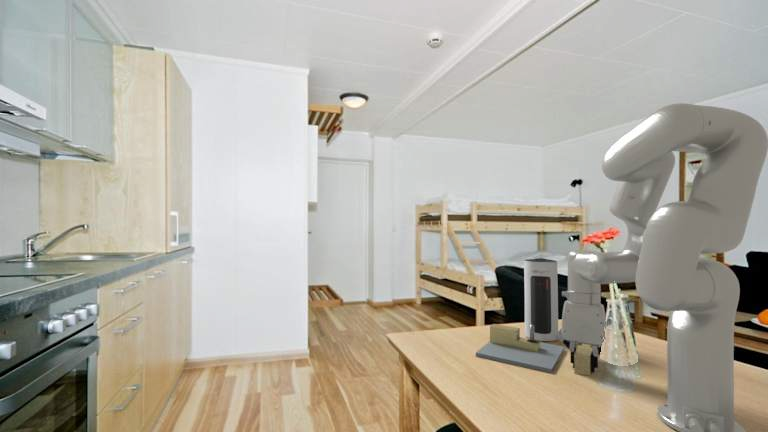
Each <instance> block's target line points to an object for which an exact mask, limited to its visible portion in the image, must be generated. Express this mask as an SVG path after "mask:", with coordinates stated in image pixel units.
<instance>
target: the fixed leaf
mask: <svg viewBox="0 0 768 432" xmlns="http://www.w3.org/2000/svg"><path fill="white" fill-rule="evenodd" d="M520 329H521V328H520V327H516V326H515V327H514V326H507V325H504V324H497V323H492V325H490V326H489V341H490V343H494V344H499V345H504V346H509V347H514V348H519V349H523V350H528V351H533V352H539V350H540V349H541V343H542V341H540V340H535V339H534V325H530V338H528V337H520V336H521V333H520Z"/></svg>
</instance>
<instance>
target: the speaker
mask: <svg viewBox="0 0 768 432" xmlns="http://www.w3.org/2000/svg"><path fill="white" fill-rule="evenodd" d="M523 265H524V266H523V273H524V274H523V275H524V277H523V279H524V280H523V282H524V286H523V287H524V335H525V338H529V339H530V325H534V339H535V340H540V341H541V342H543V343H545V342H546V343H547V342H556V341H559V340H558V339H557V338H556V335H557V334H558V332H559V291H558V290H559V289H558V288H559V287H558V285H559V283H558V282H559V281H558V280H559V279H558V261H557V259H556V260H553V259H547V258H543V257H542V258H541V257H538V258H537V257H536V258H532V259H531V258H529V259H524V260H523Z"/></svg>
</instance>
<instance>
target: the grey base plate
mask: <svg viewBox="0 0 768 432" xmlns="http://www.w3.org/2000/svg"><path fill="white" fill-rule="evenodd" d="M564 352H565V346H561V345H556V344H551V343H547V342H546V343H545V342H541V349H540V350H539V352H533V351H528V350H523V349H519V348H514V347H509V346H504V345H499V344H494V343H490V340H489V341H488V342H486V343H485V344H484V345H483V346H482V347H480V348H479V349H478V350H477V351H476V352H475V357H478V358H483V359H486V360H492V361H497V362H501V363H504V364H505V363H506V364H509V365H513V366H518V367H523V368H527V369H532V370H537V371H539V372H540V371H541V372H545V373H549V374H552V373H553V371H554V370H555V368H556V366H557V364H558V363H559V361H560V359H561V357H562V355H563V353H564Z"/></svg>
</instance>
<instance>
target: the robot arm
mask: <svg viewBox="0 0 768 432" xmlns="http://www.w3.org/2000/svg"><path fill="white" fill-rule="evenodd" d="M674 152H678V153H680V152H681V153H699V154H703V155H705V156H706V159H705V160H704V161H703V163H702V164H701V165H700V166H699V167H698V170H697V171H696V173H695V174H694V177H693V180H692V184H691V185H692V186H691V190H690V194H689V196H688V199H687V201H685V200H684V201H683V200H681V201H679V200H678V201H673V202H670V203H665V204H664V205H662V206H661V207H659V204H660V201H661V199H662V196H663V194H664V192H665V190H666V187H667V185H668V183H669V180H670V178H671V175H672V173H673V171H674V168H675V165H676V156H675V153H674ZM767 154H768V134H767V131H766V130H765V128H764V127H763V125H762V124H761V123H760V121H758V120H756V119H755V118H754V117H752V116H750V115H749V114H746V113H743V112H741V111H738V110H734V109H730V108H724V107H719V106H713V105H712V106H710V105H709V106H708V105H699V104H693V103H692V104H691V103H672V104H669V105H666V106H663V107H661V108H660V109H659V108H658V109H657V110H656V111H654V112H653V113H651V114H649V115H648V116H647V117H645V118H644V119H643V120H642V121H640V122H639V123H638V124H637V125H635V126H634V127H632V128H631V129H629V130H628V131H627V132H625V133H624V134H623V135H622V136H621V137H619V138H618V139H617V140H616V141H615V142H614V143H613V144H612V145H611V146H609V148H608V149H607V151H606V152H605V154H604V156H603V157H602V158H603V159H602V162H601V169H602V173H603V174H604V176H605V177H606V178H607V179H609V180H611V181H615V182H618V184H617V186H616V189H615V192H614V193H613V194H614V195H613V196H612V200H611V202H610V205H609V212H610V214H612V215H613V216H614V217H616V218H618V219H619V220H622V221H623V222H624V224H625V225H626V228H627V237H626V241H625V245H624V246H623V249H622V251H606V252H605V251H603V252H597V251H595V250H586V249H585V250H582V249H581V250H580V249H575V250H570V251H568V252H569V253H567V290H566V291H565V290H562V291H561V297H564V298H566V299H567V300H565V301H564V303H563V308H562V315H561V328H560V329H559V330H558V334H557V335H556V338H557V339H558V340H557V341H559V342H561V343H562V344H563V345H564V347H566V348H567V349H568V350H569V352H570V364H572V368H573V369H574V353H575V351H576V349H577V348H576V346H577V344H578V343H583V344H589V345H592V350H593V352H592V356H591V371H592V372H591V373H595V371H596V369H598V368H599V356H600V355H601V354H600V352H601V346H602V343H603V342H604V339H606V338H605V331H604V327H605V329H606V325H607V316H606V311H605V310H606V309H605V306H604V304H602V303H601V298H602V297H601V296H602V295H601V294H602V293H601V292H602V290H601V285H608V284H609V285H611V284H612V285H613V284H622V283H634V282H635V287H636V292H637V294H638V297H639V298H640V300H641V301H642V302H643V303H644V304H646V305H647V306H648V307H650V308H652V309H653V310H656V311H660V312H665V313H668V312H669V313H670V314H669V317H668V321H667V330H666V332H667V334H666V338H667V339H666V349H667V351H666V352H667V353H666V354H667V355H666V357H667V361H666V362H667V363H666V366H667V367H666V369H667V371H666V372H667V373H666V374H667V382H666V383H667V403H666V402H665V403H662V404H660V405H659V406H658V408H657V416H658V417H659V419H660V420H661V421H662V422H664V423H665V424H666V425H667V426H669V427H671V429H674V430H676V431H678V432H747V431H746V429H745V428H744V426H742V425H741V424H740V423H739V422H737V421H736V420H735V385H734V384H735V380H734V379H735V378H734V377H735V376H734V375H735V372H734V371H735V369H734V368H735V367H734V366H735V365H734V363H735V362H734V361H735V358H734V357H735V356H734V353H735V352H734V351H735V345H734V344H735V342H734V341H735V340H734V339H735V337H734V336H735V321H736V320H735V319H736V315H737V308H738V305H739V301H740V294H741V292H740V291H741V290H740V289H741V288H740V282H739V279H738V277H737V276H736V274H735V272H734V271H733V270H732V269H731V268H730V267H728V266H727V265H726V264H725V263H722V262H721V261H718V260H715V259H710V258H706V257H705V258H704V257H701V255H709V254H710V255H711V254H722V253H728V252H731V251H734V250H735V249H737V247H739V245H740V244H741V243H742V241H743V240H744V237H745V233H746V229H747V226H748V222H749V219H750V215H751V211H752V208H753V203H754V201H755V196H756V191H757V188H758V187H757V186H758V183H759V179H760V176H761V173H762V169H763V167H764V164H765V161H766V158H767ZM614 281H615V282H614ZM605 320H606V321H605ZM603 337H604V339H603Z"/></svg>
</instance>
